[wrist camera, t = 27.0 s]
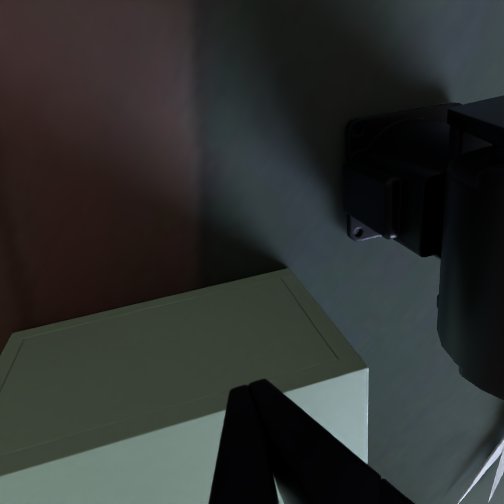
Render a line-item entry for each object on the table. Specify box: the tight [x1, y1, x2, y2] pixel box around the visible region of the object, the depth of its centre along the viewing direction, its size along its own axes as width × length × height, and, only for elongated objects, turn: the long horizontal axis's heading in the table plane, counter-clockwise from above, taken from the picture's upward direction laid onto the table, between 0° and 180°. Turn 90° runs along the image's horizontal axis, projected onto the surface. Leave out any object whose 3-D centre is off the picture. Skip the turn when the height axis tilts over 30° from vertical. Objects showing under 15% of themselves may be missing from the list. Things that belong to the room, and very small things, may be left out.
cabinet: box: [0, 268, 368, 504], centre depth 20 cm, size 15×15×9 cm
